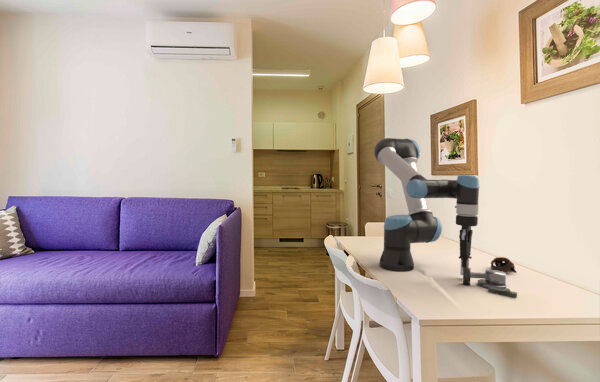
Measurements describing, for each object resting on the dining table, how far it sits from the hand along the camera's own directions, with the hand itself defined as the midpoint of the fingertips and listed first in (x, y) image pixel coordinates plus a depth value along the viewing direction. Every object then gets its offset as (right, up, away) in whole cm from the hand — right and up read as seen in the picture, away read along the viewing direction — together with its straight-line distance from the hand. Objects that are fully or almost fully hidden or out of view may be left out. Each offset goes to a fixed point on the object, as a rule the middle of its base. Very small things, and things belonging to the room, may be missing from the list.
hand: (464, 275), depth 126 cm
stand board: (+6, -3, -6) cm, 9 cm away
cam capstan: (+3, -2, -7) cm, 8 cm away
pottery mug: (+22, -3, +12) cm, 26 cm away
